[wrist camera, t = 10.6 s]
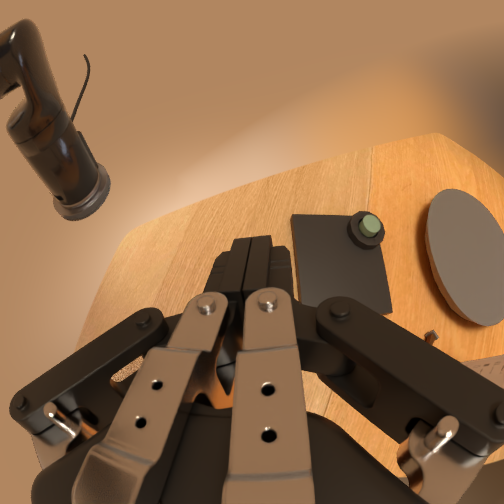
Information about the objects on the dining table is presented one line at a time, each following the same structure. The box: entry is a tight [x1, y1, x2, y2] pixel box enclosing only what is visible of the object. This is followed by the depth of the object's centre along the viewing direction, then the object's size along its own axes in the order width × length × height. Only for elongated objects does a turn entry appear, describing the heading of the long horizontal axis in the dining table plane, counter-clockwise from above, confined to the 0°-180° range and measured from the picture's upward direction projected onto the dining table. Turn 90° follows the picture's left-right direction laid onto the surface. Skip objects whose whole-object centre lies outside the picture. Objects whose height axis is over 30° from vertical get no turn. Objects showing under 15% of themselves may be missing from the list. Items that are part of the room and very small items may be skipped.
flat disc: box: [425, 189, 504, 326], centre depth 40 cm, size 28×28×4 cm
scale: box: [291, 211, 393, 315], centre depth 38 cm, size 16×14×3 cm
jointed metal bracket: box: [425, 330, 439, 345], centre depth 33 cm, size 2×8×4 cm, turn 128°
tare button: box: [359, 215, 380, 237], centre depth 39 cm, size 3×3×2 cm
